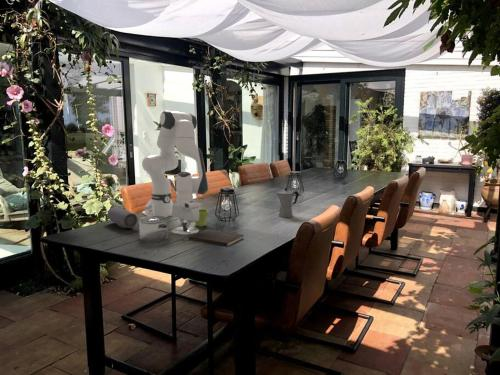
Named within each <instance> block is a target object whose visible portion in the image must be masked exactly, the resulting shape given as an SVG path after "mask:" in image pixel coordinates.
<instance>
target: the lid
mask: <svg viewBox="0 0 500 375" xmlns="http://www.w3.org/2000/svg"><path fill="white" fill-rule="evenodd" d="M186 225H187V221H186V222H185V221H184V223H183V227H182V226H178V227H175V228H173V229H172V230H171V233H172V234H174V235H177V236H191V235H194V234H196V233H199V232H200V228H198V227H197V226H195V227H194V226H190V228H186Z"/></svg>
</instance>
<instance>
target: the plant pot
mask: <svg viewBox="0 0 500 375" xmlns="http://www.w3.org/2000/svg"><path fill="white" fill-rule="evenodd" d="M208 213H209V210H208V209H205V208H199V221H197V222H194V224H195V225H194V226H195V227H205V226H207V221H208Z"/></svg>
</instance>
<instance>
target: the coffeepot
mask: <svg viewBox="0 0 500 375" xmlns="http://www.w3.org/2000/svg"><path fill="white" fill-rule="evenodd" d="M275 195H276V196H277V197H278V199H279V204H280V206H279V211H278V212H279V213H278V217H280V218H292V217H293V211H292V210H293V209H292V204H293V205H296V203H297V201H298V198H299V192H298V191H297V190H293V191H288V188H287V187H285V188H284V190H283V191H278V192H277V193H275ZM293 195H295V198H294V202H293V201H292V200H293Z"/></svg>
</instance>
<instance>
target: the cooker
mask: <svg viewBox="0 0 500 375" xmlns="http://www.w3.org/2000/svg"><path fill="white" fill-rule="evenodd" d="M138 228H139V230H138V231H139V240H140V241H142V242H148V243H149V242H151V243H152V242H161V241H164V240H167V239H168V237H169V236H168V217H165V216H146V215H145V216H143V217H140V218H138Z"/></svg>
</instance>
